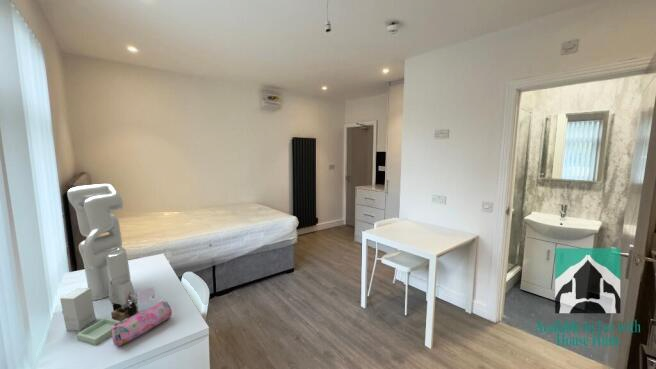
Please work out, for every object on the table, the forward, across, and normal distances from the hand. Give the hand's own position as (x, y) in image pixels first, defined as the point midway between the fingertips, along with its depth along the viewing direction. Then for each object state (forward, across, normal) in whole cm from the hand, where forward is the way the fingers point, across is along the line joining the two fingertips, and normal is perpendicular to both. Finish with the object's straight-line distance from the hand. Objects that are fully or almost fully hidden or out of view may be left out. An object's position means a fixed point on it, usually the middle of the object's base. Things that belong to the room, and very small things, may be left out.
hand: (125, 312), depth 123 cm
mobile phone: (+2, -7, +16) cm, 18 cm away
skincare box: (+2, -13, -10) cm, 17 cm away
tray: (+2, +2, -11) cm, 12 cm away
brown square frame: (+2, 0, 0) cm, 2 cm away
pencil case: (+2, +18, -5) cm, 19 cm away
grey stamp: (+2, 0, 0) cm, 2 cm away
